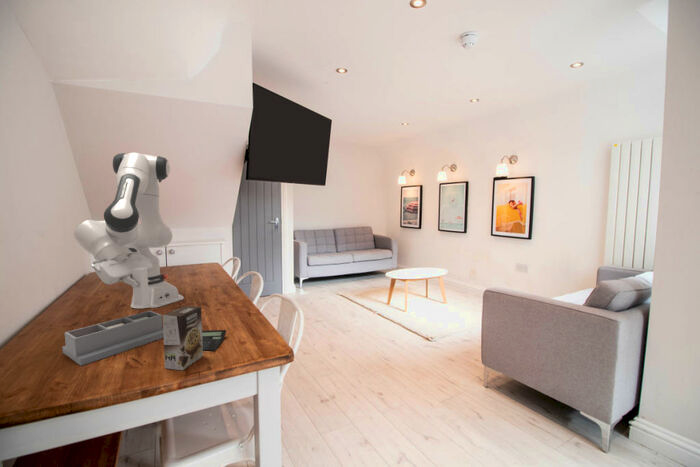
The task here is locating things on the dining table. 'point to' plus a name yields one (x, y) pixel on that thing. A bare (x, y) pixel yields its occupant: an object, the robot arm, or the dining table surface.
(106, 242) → the robot arm
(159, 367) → the dining table surface
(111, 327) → the key cream
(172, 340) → the coffee box
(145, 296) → the light grey bar
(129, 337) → the keypad
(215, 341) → the calculator
